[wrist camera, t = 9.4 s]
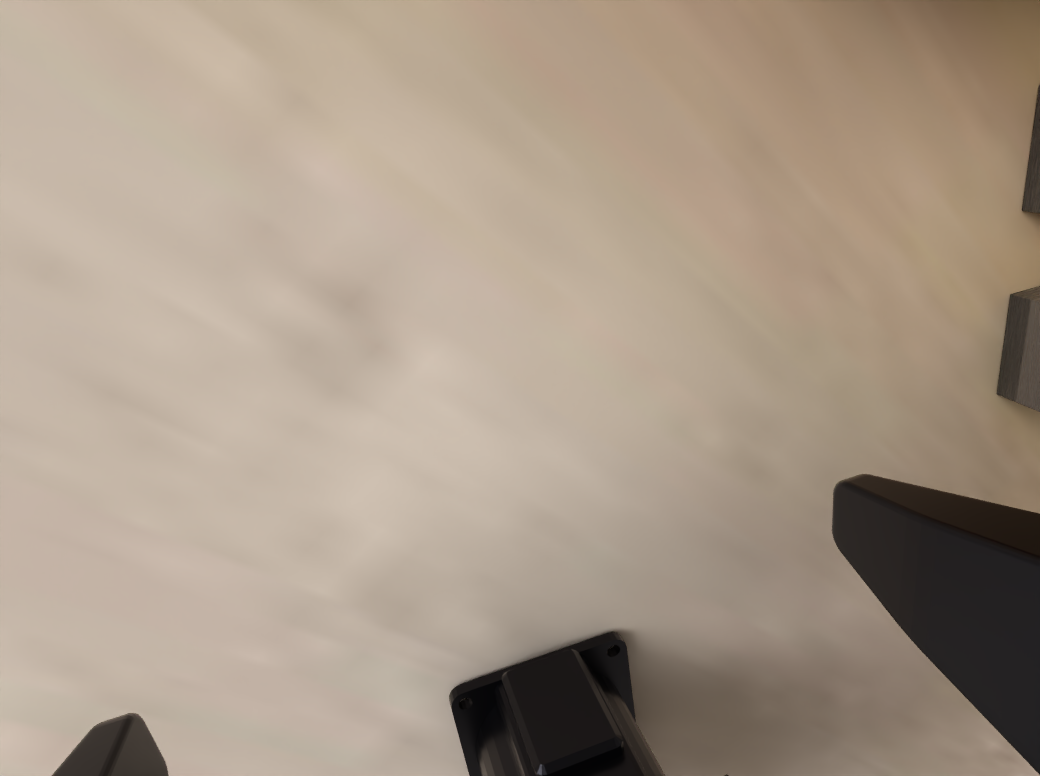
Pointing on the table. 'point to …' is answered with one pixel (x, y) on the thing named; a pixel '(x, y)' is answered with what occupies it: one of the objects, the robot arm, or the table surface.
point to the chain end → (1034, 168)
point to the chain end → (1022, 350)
